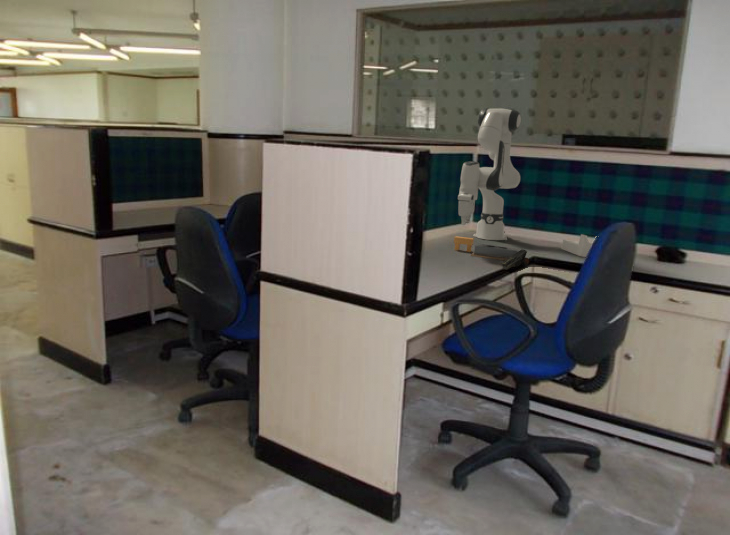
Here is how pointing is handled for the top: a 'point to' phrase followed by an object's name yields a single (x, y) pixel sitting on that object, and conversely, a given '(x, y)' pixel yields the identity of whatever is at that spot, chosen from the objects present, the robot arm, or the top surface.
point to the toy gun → (516, 260)
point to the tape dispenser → (577, 246)
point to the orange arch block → (463, 242)
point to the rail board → (494, 251)
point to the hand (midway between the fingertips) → (465, 223)
